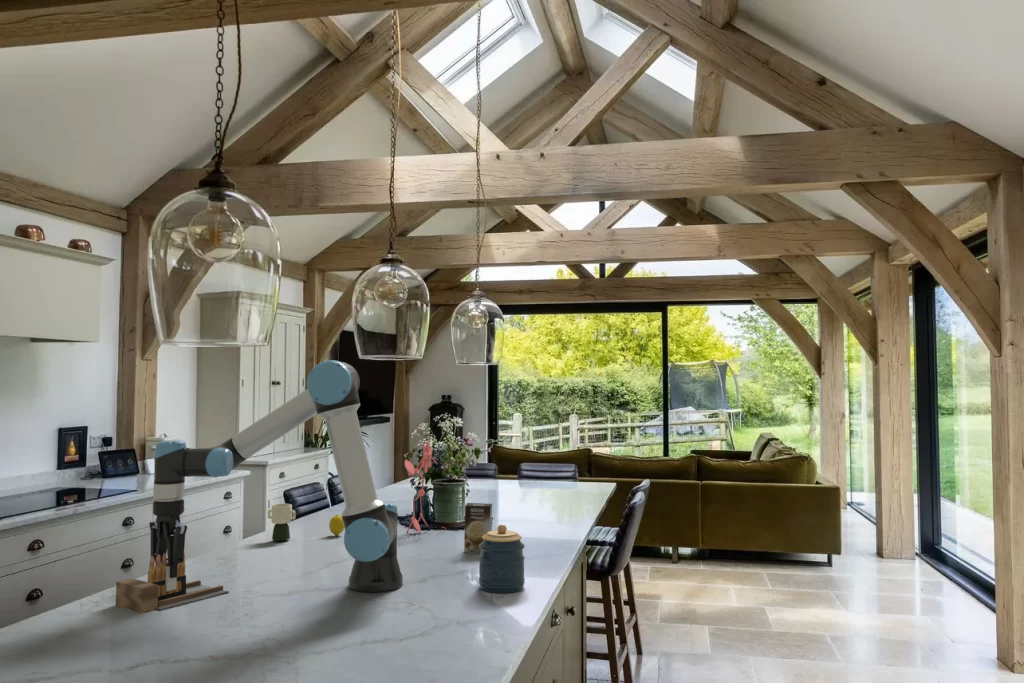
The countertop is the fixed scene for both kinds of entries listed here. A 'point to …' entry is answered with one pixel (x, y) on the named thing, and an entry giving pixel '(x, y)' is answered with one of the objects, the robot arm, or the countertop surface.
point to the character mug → (281, 520)
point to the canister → (501, 561)
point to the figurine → (427, 464)
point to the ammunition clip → (159, 577)
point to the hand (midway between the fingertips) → (165, 588)
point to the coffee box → (476, 525)
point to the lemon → (336, 525)
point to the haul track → (146, 595)
